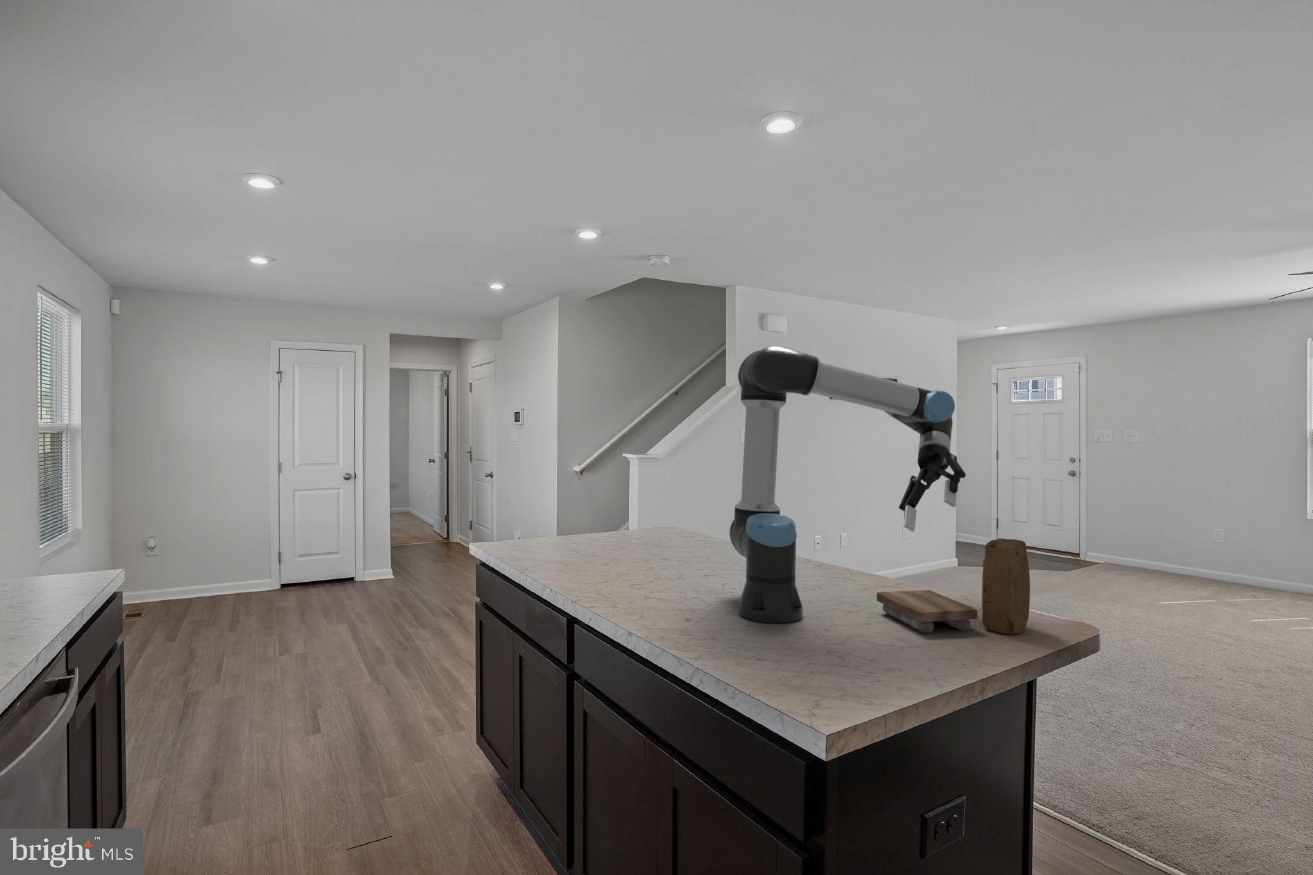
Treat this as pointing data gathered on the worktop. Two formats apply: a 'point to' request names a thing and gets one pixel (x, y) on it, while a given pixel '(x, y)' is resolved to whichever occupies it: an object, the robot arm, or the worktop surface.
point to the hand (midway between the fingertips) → (928, 516)
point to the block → (1005, 586)
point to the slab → (926, 609)
